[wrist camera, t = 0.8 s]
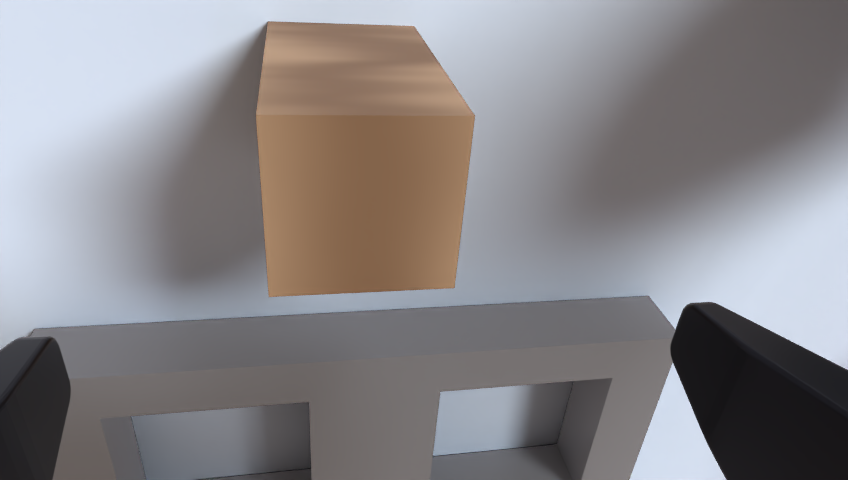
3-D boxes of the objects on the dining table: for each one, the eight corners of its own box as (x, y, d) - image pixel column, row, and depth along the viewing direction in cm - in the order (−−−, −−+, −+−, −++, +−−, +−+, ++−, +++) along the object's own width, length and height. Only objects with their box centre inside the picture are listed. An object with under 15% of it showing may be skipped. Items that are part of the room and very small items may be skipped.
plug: (414, 26, 18) (474, 115, 12) (406, 157, 20) (454, 287, 14) (268, 21, 17) (255, 114, 11) (275, 158, 19) (269, 296, 13)
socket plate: (648, 296, 25) (690, 348, 22) (577, 517, 32) (603, 576, 29) (34, 329, 21) (-3, 398, 18) (114, 574, 28) (95, 648, 25)
